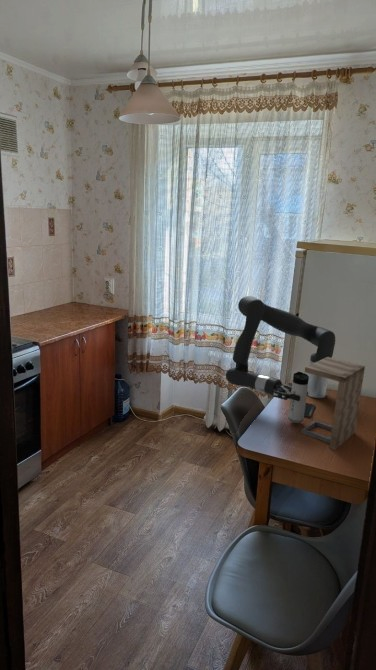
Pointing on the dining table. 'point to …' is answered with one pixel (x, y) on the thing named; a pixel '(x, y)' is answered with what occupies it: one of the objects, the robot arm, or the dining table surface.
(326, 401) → the dining table surface
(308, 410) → the phone
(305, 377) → the travel mug
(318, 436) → the seat frame
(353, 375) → the overhang shelf
